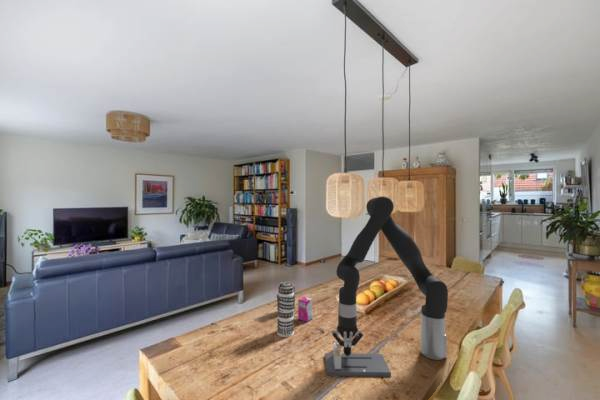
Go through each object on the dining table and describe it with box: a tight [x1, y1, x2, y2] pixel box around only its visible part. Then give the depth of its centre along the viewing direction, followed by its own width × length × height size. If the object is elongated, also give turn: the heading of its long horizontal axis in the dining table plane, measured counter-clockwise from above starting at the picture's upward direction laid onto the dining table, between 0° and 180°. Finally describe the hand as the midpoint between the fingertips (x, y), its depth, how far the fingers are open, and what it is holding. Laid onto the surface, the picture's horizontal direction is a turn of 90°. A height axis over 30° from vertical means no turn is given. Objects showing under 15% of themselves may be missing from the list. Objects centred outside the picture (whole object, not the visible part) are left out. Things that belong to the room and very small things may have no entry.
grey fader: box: [333, 349, 342, 369], centre depth 104 cm, size 2×4×5 cm, turn 0°
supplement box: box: [297, 296, 313, 324], centre depth 148 cm, size 6×6×12 cm
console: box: [324, 352, 392, 377], centre depth 107 cm, size 24×12×2 cm, turn 90°
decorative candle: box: [276, 281, 296, 338], centre depth 133 cm, size 9×9×25 cm
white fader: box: [332, 341, 342, 354], centre depth 110 cm, size 2×4×5 cm, turn 0°
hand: (347, 354), depth 110 cm, fingers closed
